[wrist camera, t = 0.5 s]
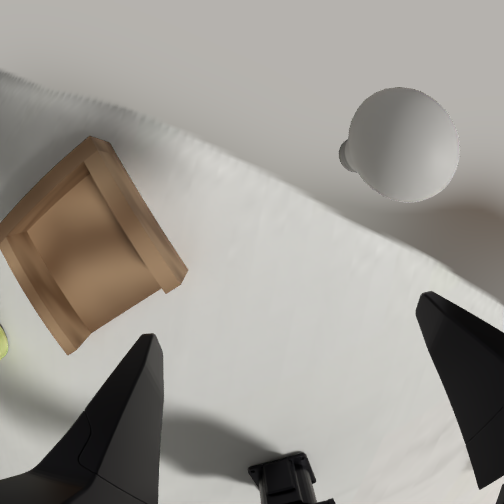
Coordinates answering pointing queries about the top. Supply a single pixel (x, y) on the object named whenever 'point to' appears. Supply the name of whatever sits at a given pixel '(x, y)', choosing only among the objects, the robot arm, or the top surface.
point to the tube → (3, 344)
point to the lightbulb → (402, 145)
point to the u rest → (87, 245)
